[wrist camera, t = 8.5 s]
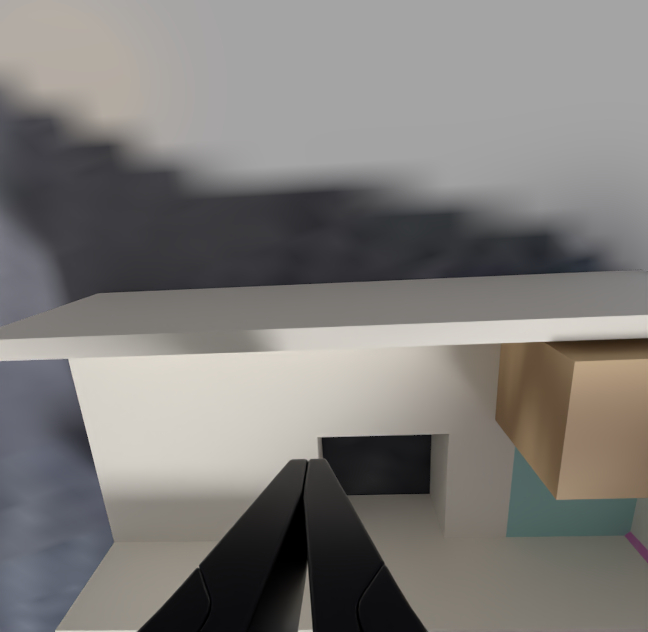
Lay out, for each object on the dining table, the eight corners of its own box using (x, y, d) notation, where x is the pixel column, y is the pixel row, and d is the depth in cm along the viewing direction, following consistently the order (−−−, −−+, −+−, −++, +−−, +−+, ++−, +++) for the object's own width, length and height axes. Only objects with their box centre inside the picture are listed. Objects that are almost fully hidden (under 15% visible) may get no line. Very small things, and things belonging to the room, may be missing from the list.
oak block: (606, 416, 14) (712, 496, 10) (495, 419, 14) (556, 499, 10) (623, 310, 13) (750, 354, 9) (502, 316, 13) (574, 361, 9)
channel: (600, 501, 18) (729, 642, 12) (145, 509, 19) (59, 643, 13) (642, 269, 15) (840, 307, 9) (98, 293, 16) (-41, 340, 10)
